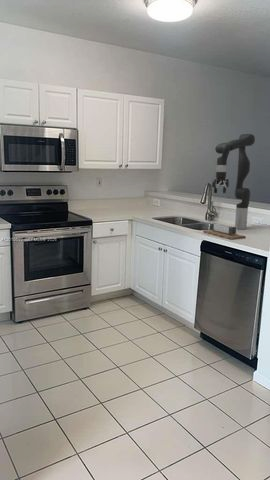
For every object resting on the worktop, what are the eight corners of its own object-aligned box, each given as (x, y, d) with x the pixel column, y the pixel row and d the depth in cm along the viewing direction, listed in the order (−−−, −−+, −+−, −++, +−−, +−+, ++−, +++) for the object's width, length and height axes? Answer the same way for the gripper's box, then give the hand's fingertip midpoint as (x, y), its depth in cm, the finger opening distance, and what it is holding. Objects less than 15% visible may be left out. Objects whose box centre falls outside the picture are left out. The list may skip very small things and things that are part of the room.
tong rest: (203, 232, 296) (203, 222, 294) (217, 231, 302) (217, 221, 301) (231, 239, 270) (231, 229, 269) (245, 238, 277) (246, 227, 276)
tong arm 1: (213, 230, 293) (213, 223, 292) (214, 230, 294) (215, 223, 293) (231, 234, 276) (231, 227, 275) (233, 234, 277) (233, 227, 276)
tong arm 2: (215, 229, 294) (216, 223, 293) (217, 229, 295) (217, 223, 294) (233, 234, 277) (234, 227, 276) (235, 234, 278) (236, 227, 277)
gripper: (217, 171, 283) (216, 193, 287) (231, 171, 290) (230, 193, 294) (210, 171, 290) (209, 192, 293) (224, 171, 297) (223, 192, 300)
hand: (219, 193), depth 293 cm, fingers open, 8 cm apart
